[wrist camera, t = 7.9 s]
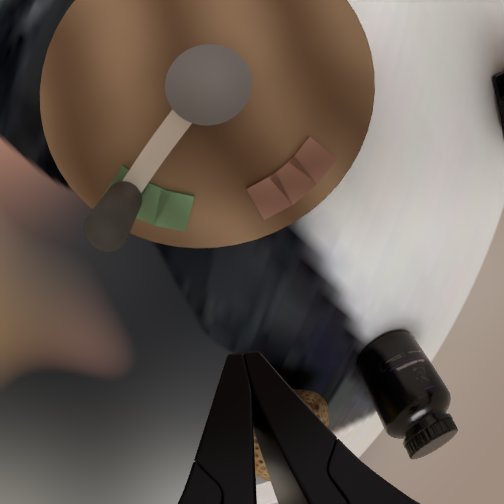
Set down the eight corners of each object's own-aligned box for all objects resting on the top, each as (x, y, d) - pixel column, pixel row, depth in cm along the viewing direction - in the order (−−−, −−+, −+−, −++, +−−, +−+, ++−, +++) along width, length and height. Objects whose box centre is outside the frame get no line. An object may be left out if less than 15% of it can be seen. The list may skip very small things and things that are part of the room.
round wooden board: (267, -94, 9) (272, -104, 8) (404, 146, 19) (416, 151, 18) (2, 71, 12) (-10, 72, 11) (168, 287, 21) (166, 299, 20)
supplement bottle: (400, 317, 27) (465, 414, 17) (418, 345, 30) (472, 427, 20) (343, 360, 29) (391, 463, 19) (369, 381, 32) (412, 467, 22)
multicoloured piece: (202, 33, 13) (204, 12, 9) (263, 79, 14) (288, 77, 10) (90, 188, 16) (58, 224, 12) (147, 225, 17) (134, 271, 13)
